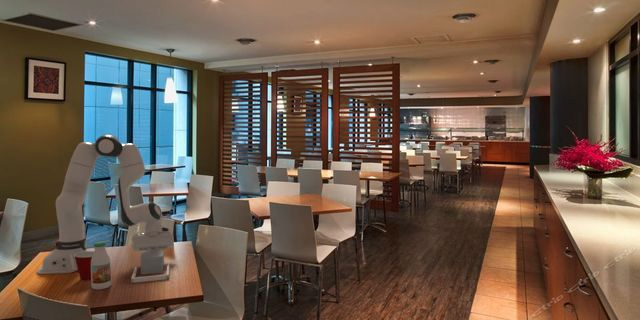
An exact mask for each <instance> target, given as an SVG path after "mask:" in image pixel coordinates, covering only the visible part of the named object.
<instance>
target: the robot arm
mask: <svg viewBox="0 0 640 320" xmlns="http://www.w3.org/2000/svg"><path fill="white" fill-rule="evenodd" d="M101 156H102V157H105V158H117V161H118V163H119V166H120V169H121V176H120V177H119V178H118V183H117V187H118V194H119V203H120V218H121V222H122V223H123V224H124V225H126V226H128V227H133V226H135V225H138V224H141V223H145V226H144V233H135V234H134V235H132V238H131V240H132V246H131V247H132V251H133V252H140V251H141V252H142V251H143V250H155V249H163V250H165V249H173V248H174V247H175V246H174V245H175V243H174V236H173V234H172V230H171V228H170V227H165V226H163V225H162V224H163V213H162V208H161V206H159V204H157V203H155V202H153V201H147V202H143V203H140V204H136V205H131V199H130V188H131V187H132V186H133V185H134V184H136V183H137V182H139V180H141V179H142V178H143V177H144V175H145V174H146V168H145V167H146V166H145V163H144V160H143V157H142V155H141V152H140V151H139V148H138V147H137V145H136V144H135V143H131V142H130V143H129V142H127V143H121V142H120V140H119V138H118V137H117V136H116V135H113V134H107V133H105V134H103V135H101V136H98V138H97V139H96V140H95V141H94V142H88V141H84V142H83V141H81V142H80V143H78V145H77V146H76V148H75V150H74V151H73V154H72V156H71V158H70V161H69V165H68V166H67V167H68V168H67V170H66V174H65V178H64V181H63V182H64V183H63V185H62V190H61V192H60V195H58V196H57V197H56V200H55V209H56V210H55V211H56V218H57V223H58V235H59V236H58V237H59V239H57V240H56V241H55V243H54V248H55V249H53V250H52V251H50V252H49V253H48V254H47V255H46V256H45V257H44V258H43V260H42V265H41V266H40V267H38V269H37V270H36V273H37V274H38V275H49V274H50V275H53V274H71V273H73V272H74V273H75V272H78V268H77V264H76V260H75V257H74V254H75V253H79V252H86V250H87V237H86V238H85V234H84V224H85V222H84V215H83V205H84V203H85V200H86V197H87V193H88V189H89V185H90V182H91V178H92V176H93V173H94V170H95V167H96V165H97V164H96V163H97V160H98V159H99V157H101Z"/></svg>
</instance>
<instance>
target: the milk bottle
mask: <svg viewBox="0 0 640 320" xmlns="http://www.w3.org/2000/svg"><path fill="white" fill-rule="evenodd" d="M93 249H94V250H93V252H94V254H93V256H92V259H91V279H90V281H91V289H92V290H95V291H96V290H104V289H105V290H106V289H107V288H110V287H111V285H112V276H111V274H112V273H111V258H110V256H109V254H108V252H107V249H106V241H103V240H102V241H101V240H99V241H95V242H94V243H93Z"/></svg>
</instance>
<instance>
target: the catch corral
mask: <svg viewBox="0 0 640 320" xmlns="http://www.w3.org/2000/svg"><path fill="white" fill-rule="evenodd" d="M137 274H138V267H137V266H135V267H134V268H133V272H132V275H131V278H130V279H131V280H130V282H131V284H133V283H143V282H153V281H162V280H169V279H170V263H168V264H166V274H158V275H148V276H146V275H145V276H137ZM136 276H137V277H136Z"/></svg>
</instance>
